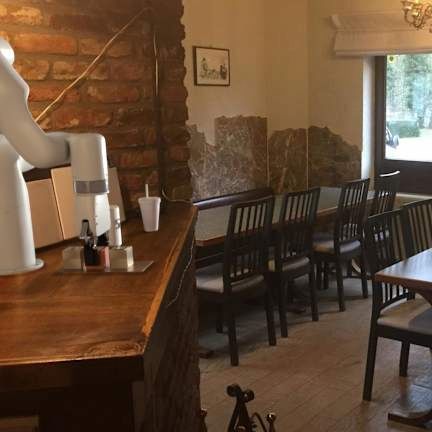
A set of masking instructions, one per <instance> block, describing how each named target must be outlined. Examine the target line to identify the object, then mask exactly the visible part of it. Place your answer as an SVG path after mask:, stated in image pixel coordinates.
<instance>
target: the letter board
mask: <svg viewBox="0 0 432 432" xmlns="http://www.w3.org/2000/svg"><path fill="white" fill-rule="evenodd" d="M153 262H154V260H133V264H132V265H131V266H130V267H129V268H120V269H111V266H110V264H109V265H108V266H106V267H105V268H104V269H86V266H85V267H83V268H82V269H64V266H63V267H61V268H60V269H58V270H57V271H56V273H136V272H137V273H138V272H139V273H142V272H144V271H146V269H147V268H148V267H149V266H150V265H151V264H152V263H153ZM109 263H110V260H109Z"/></svg>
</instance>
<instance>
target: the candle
mask: <svg viewBox="0 0 432 432" xmlns="http://www.w3.org/2000/svg"><path fill="white" fill-rule="evenodd" d="M109 210H110V222H111V225H110V229H109V233H108V235H109V241H107V242H109V247H115V246H121V245H122V234H121V218H120V217H121V216H120V207H119V205H116V204H109ZM97 242H98V241H97Z"/></svg>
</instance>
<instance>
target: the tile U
mask: <svg viewBox="0 0 432 432" xmlns="http://www.w3.org/2000/svg"><path fill="white" fill-rule="evenodd" d="M133 253H134V252H133V246H132V245H131V246H130V245H128V246H121V245H120V246H113V247H112V248H111V249H110V251H109V254H110V257H109V261H110V266H111V269H120V268H129V267H130V266H131V265H132V264H133V261H134V254H133Z"/></svg>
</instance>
